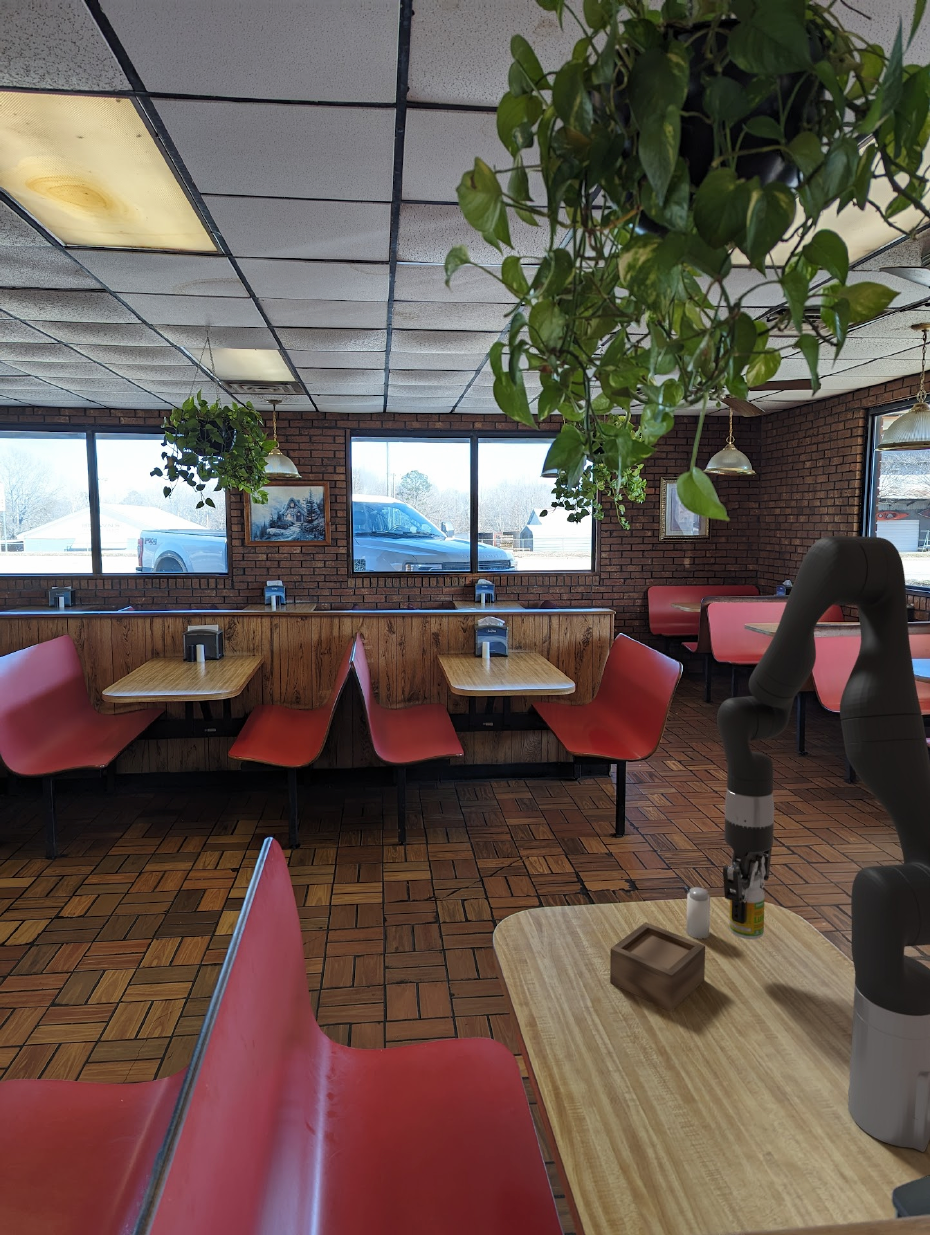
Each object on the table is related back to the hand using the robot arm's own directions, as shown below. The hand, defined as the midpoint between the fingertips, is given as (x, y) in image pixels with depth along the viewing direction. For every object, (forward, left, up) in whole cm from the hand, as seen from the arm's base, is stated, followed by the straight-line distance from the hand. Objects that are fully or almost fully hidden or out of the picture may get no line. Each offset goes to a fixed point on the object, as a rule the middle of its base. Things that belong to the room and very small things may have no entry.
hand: (746, 914), depth 126 cm
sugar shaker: (+11, -5, -10) cm, 16 cm away
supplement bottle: (0, 0, -3) cm, 3 cm away
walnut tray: (+9, +13, -10) cm, 18 cm away
